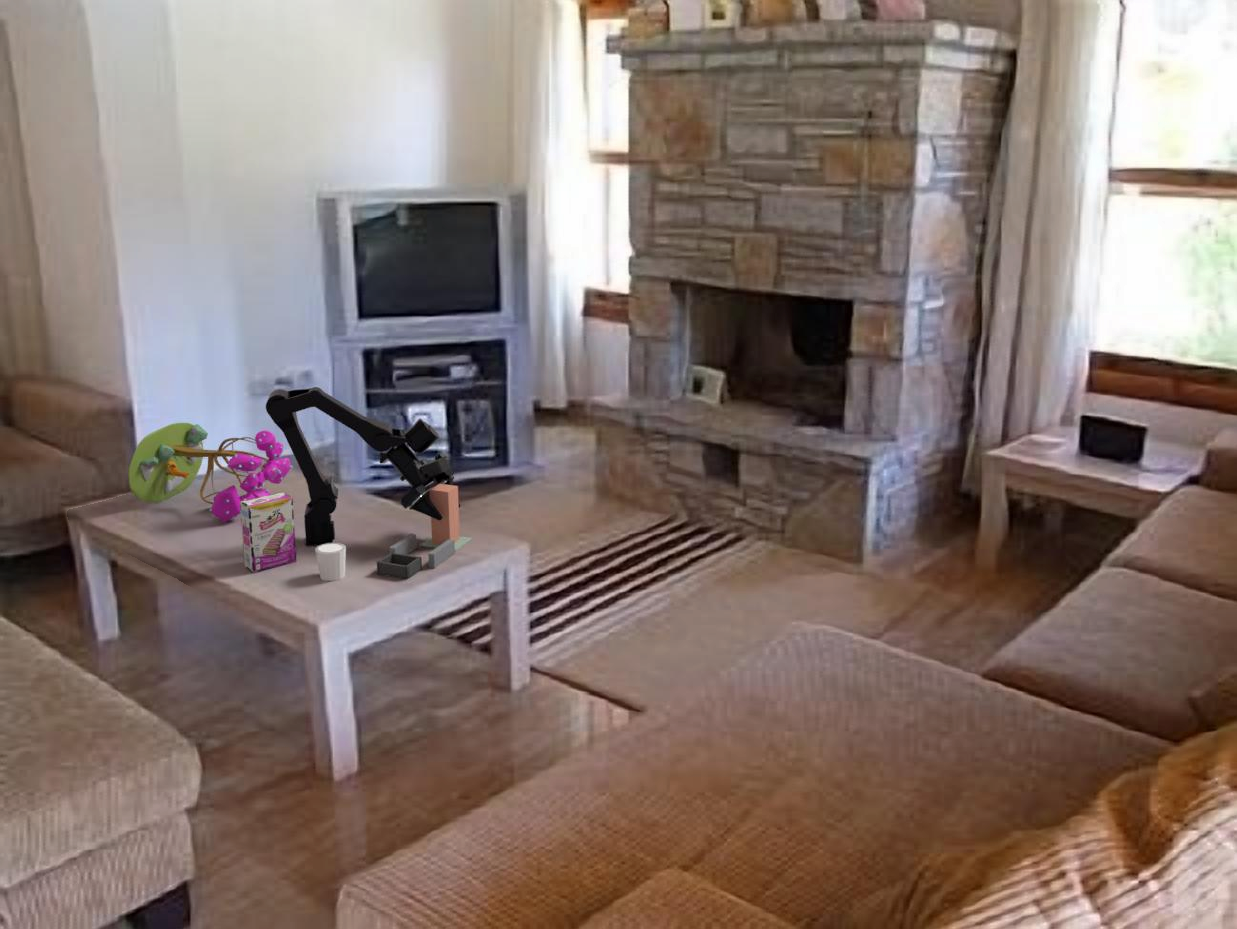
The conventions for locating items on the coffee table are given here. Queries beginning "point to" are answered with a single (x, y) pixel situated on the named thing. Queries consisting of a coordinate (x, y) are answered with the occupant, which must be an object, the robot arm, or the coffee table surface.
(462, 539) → the sage mat
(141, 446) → the lily pad toy
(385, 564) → the dark grey open box
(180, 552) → the coffee table surface
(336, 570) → the white cup
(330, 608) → the coffee table surface
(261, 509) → the candy bar box
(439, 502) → the salmon-pink block
